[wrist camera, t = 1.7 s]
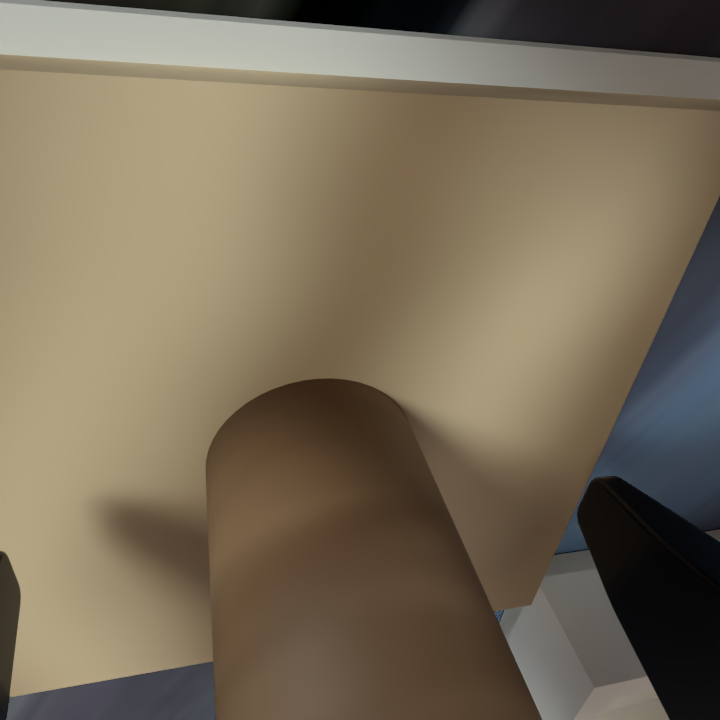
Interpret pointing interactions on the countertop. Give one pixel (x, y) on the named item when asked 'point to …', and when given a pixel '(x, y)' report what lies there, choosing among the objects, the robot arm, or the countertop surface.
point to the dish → (579, 648)
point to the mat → (341, 50)
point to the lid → (317, 367)
